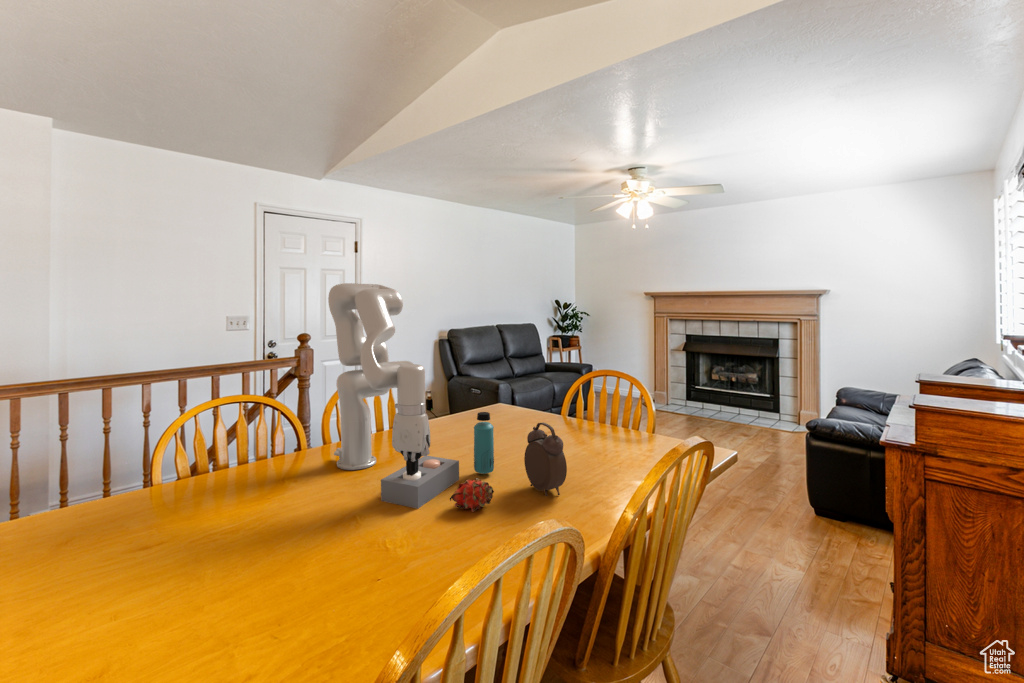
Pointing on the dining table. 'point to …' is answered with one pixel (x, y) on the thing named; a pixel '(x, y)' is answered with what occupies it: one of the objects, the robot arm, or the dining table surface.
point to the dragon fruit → (472, 494)
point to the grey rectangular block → (419, 483)
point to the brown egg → (431, 463)
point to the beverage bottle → (483, 444)
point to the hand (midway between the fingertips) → (412, 473)
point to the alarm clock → (545, 460)
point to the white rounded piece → (413, 477)
